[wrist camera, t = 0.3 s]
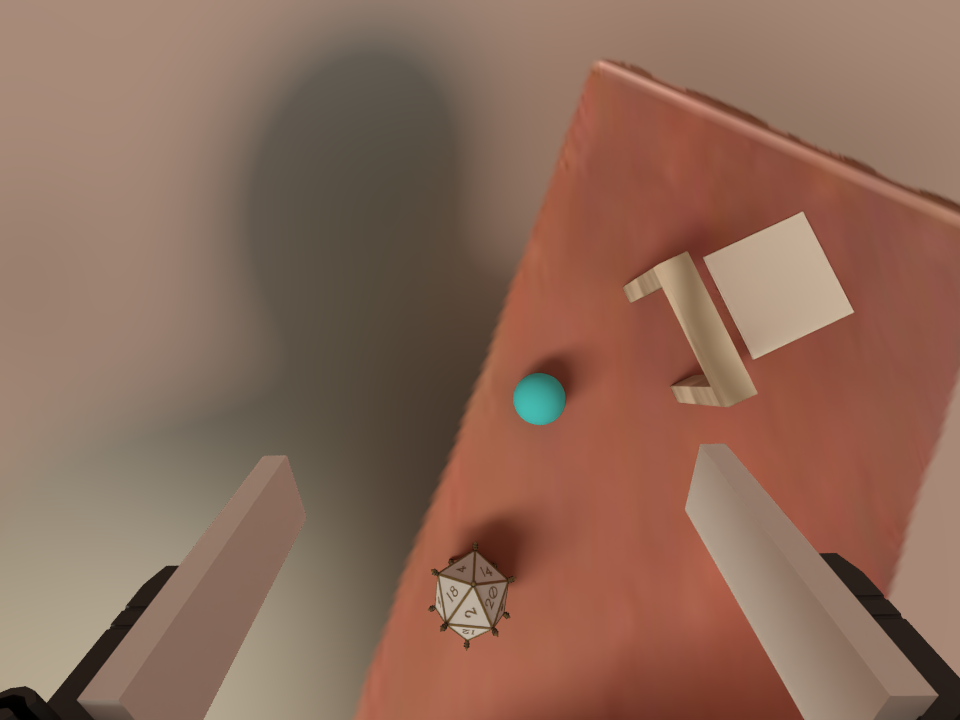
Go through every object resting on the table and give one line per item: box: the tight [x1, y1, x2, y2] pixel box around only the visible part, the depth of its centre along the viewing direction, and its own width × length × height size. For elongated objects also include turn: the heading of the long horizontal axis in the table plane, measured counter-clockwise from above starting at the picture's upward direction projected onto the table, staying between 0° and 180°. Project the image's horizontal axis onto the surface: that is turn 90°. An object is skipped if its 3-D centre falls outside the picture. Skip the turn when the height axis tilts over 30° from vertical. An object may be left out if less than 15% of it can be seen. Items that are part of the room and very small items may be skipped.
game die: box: [428, 541, 516, 651], centre depth 41 cm, size 9×8×10 cm
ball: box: [513, 373, 566, 425], centre depth 43 cm, size 6×6×6 cm
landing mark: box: [703, 212, 854, 359], centre depth 47 cm, size 13×13×1 cm
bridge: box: [623, 251, 757, 407], centre depth 42 cm, size 3×14×9 cm, turn 25°
